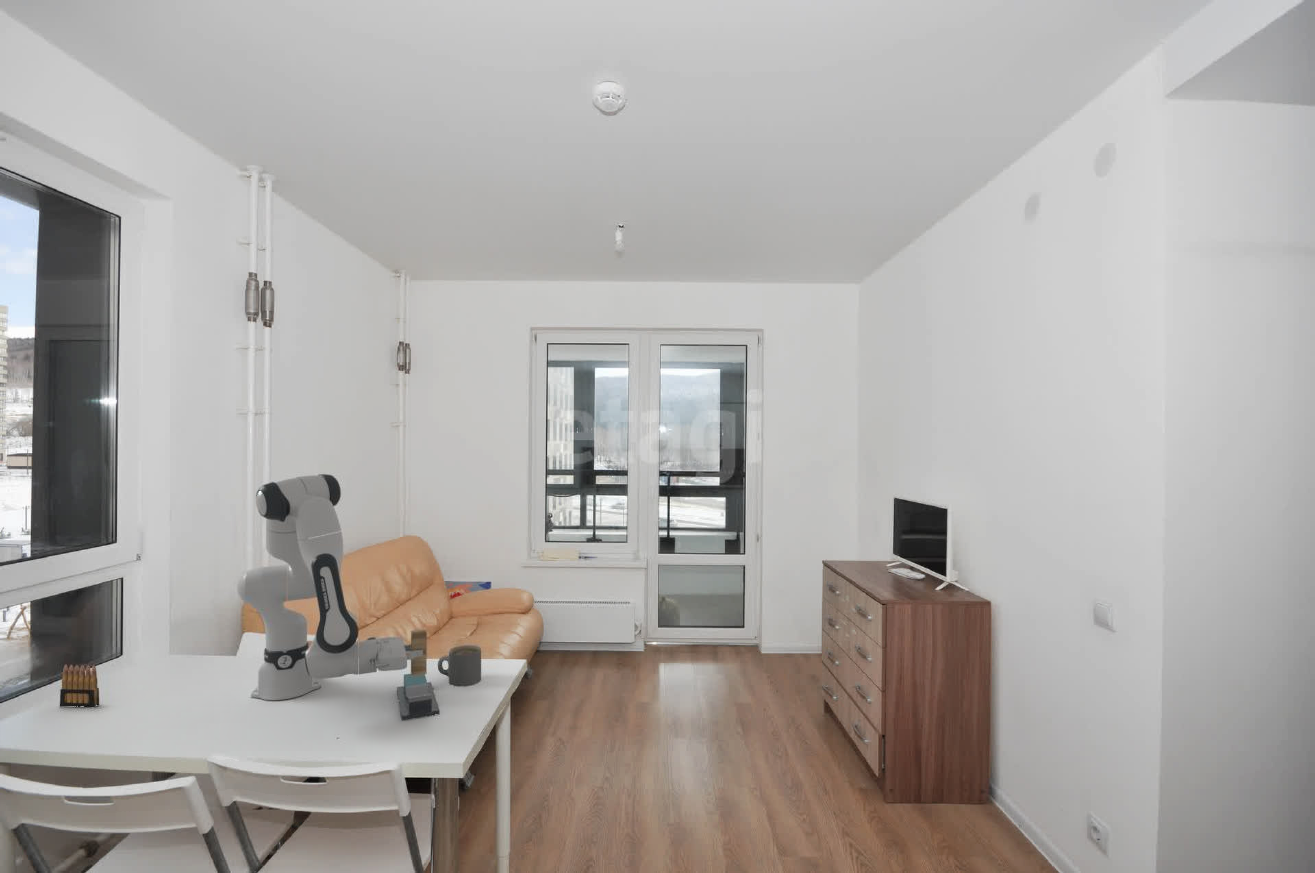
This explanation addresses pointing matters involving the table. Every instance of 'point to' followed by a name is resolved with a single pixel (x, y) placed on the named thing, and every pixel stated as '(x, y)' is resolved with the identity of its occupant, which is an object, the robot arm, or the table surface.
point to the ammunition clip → (79, 687)
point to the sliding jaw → (415, 685)
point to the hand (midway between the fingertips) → (422, 649)
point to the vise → (417, 704)
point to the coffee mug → (462, 665)
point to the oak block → (419, 643)
